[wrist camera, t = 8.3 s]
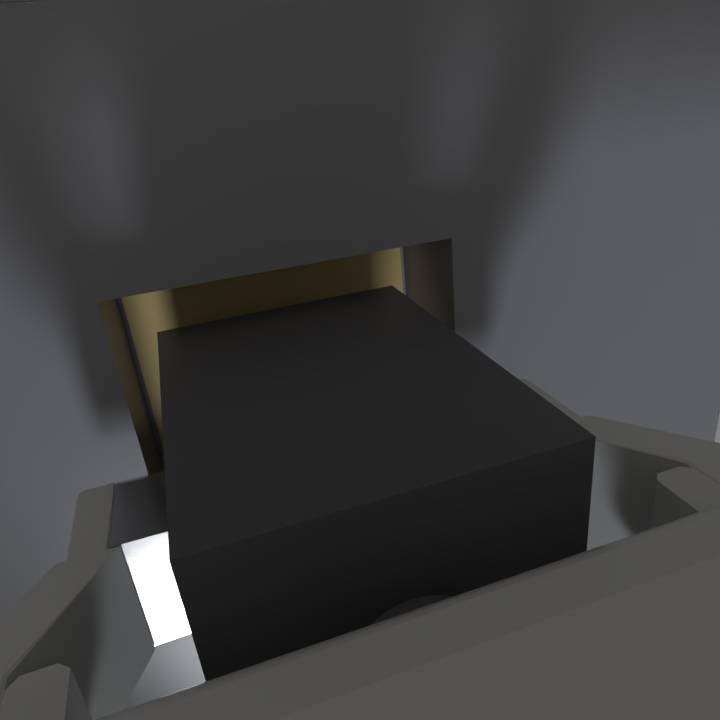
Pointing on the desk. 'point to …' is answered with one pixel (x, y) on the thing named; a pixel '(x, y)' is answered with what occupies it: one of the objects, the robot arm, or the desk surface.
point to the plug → (352, 472)
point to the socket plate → (343, 211)
